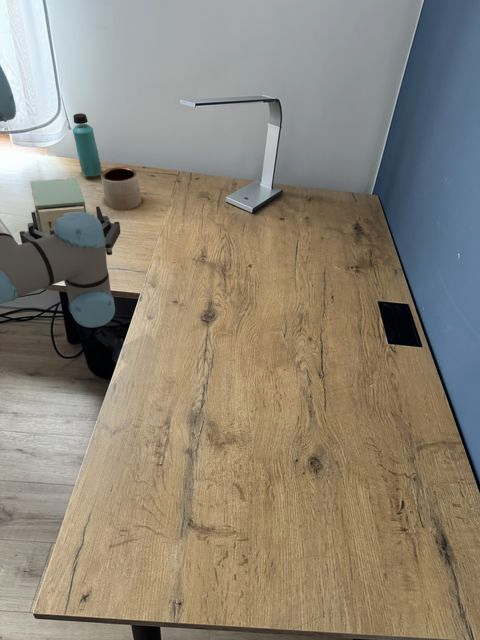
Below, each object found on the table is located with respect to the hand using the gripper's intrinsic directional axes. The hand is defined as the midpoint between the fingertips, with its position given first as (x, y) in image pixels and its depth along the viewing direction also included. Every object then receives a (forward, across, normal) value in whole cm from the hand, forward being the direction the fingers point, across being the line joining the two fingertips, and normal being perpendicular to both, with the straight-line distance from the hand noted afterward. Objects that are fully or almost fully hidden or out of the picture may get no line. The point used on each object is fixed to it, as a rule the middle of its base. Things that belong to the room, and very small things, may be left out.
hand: (66, 214), depth 112 cm
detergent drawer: (+25, 0, -19) cm, 32 cm away
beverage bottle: (+61, +13, -20) cm, 65 cm away
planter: (+40, +20, -20) cm, 49 cm away
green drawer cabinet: (+31, 0, -20) cm, 37 cm away
